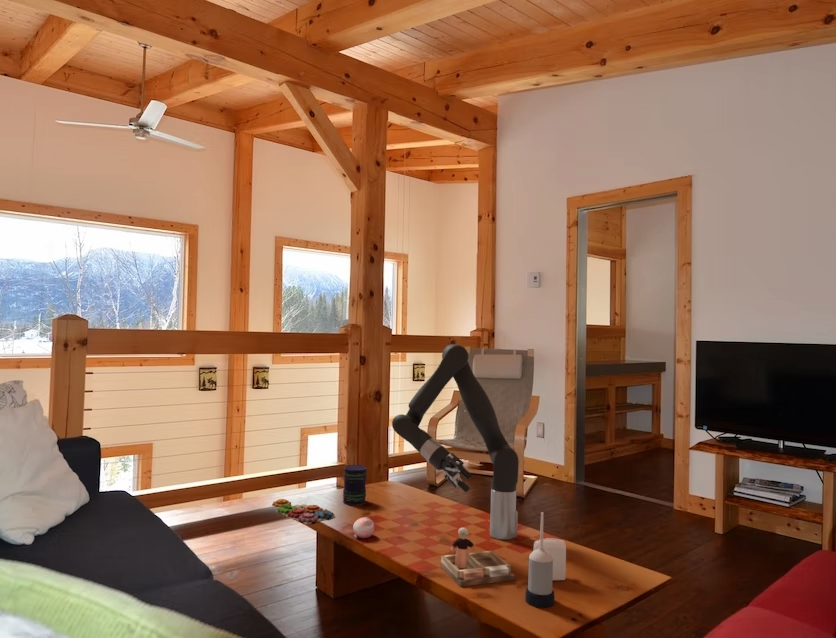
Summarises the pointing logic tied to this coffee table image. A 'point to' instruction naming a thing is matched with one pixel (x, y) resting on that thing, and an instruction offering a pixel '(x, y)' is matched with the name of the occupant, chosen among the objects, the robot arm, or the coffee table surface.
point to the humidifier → (540, 576)
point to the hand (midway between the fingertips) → (469, 484)
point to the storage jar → (354, 485)
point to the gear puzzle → (302, 512)
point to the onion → (363, 528)
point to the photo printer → (555, 555)
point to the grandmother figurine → (462, 549)
